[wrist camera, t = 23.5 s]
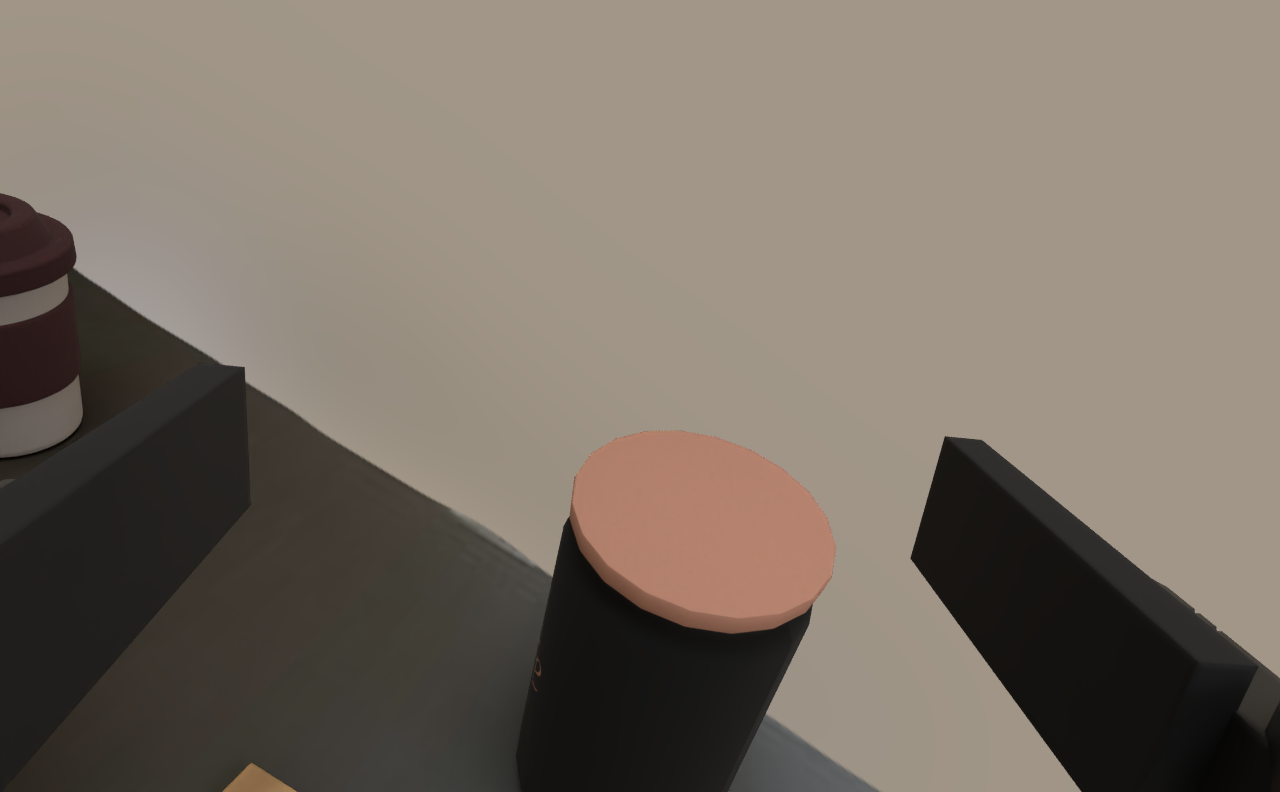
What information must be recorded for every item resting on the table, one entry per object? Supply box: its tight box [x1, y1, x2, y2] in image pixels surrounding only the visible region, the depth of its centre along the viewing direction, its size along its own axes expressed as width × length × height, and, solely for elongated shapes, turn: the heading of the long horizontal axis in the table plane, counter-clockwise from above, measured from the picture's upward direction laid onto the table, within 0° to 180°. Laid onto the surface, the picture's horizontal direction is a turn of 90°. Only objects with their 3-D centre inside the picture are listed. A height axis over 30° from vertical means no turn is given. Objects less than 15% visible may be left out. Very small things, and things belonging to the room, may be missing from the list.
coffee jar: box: [516, 431, 836, 792], centre depth 35 cm, size 11×11×18 cm
